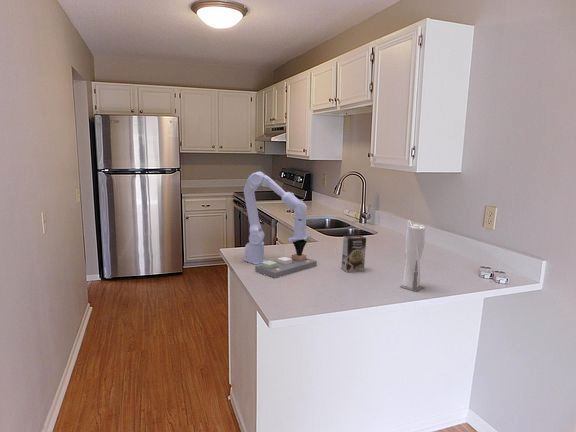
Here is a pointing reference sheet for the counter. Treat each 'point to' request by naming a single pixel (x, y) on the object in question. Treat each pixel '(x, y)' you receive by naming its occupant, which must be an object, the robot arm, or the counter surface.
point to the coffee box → (353, 253)
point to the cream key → (284, 261)
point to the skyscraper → (413, 256)
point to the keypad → (287, 268)
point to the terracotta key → (298, 257)
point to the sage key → (269, 265)
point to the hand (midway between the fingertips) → (299, 254)
